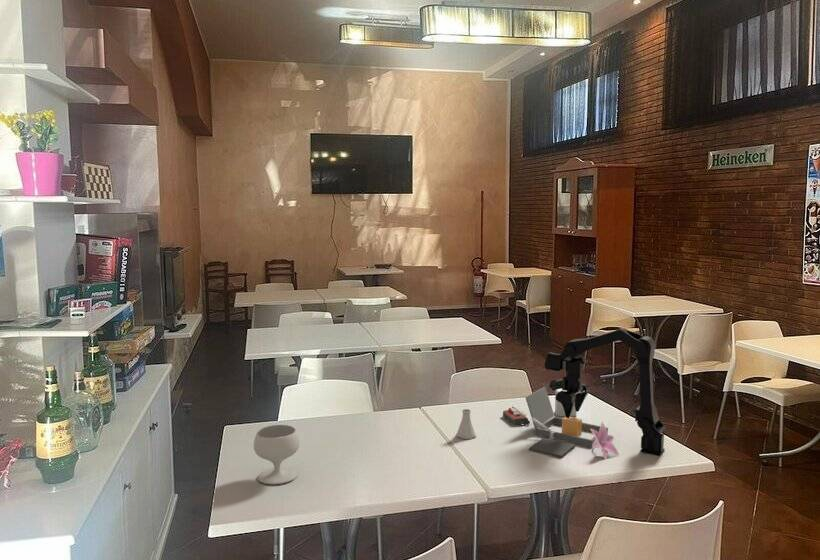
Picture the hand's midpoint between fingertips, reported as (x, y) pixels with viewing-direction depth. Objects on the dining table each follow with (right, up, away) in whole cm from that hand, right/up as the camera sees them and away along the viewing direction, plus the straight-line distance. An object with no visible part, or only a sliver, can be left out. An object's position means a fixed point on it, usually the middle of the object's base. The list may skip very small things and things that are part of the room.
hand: (572, 414), depth 226 cm
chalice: (-103, -12, -36) cm, 109 cm away
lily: (+5, -10, -18) cm, 21 cm away
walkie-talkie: (-18, -6, +20) cm, 28 cm away
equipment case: (-2, -8, +2) cm, 8 cm away
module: (0, -8, +1) cm, 8 cm away
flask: (-40, -8, -1) cm, 41 cm away
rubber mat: (-11, -9, -14) cm, 20 cm away
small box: (+4, -6, +24) cm, 25 cm away
